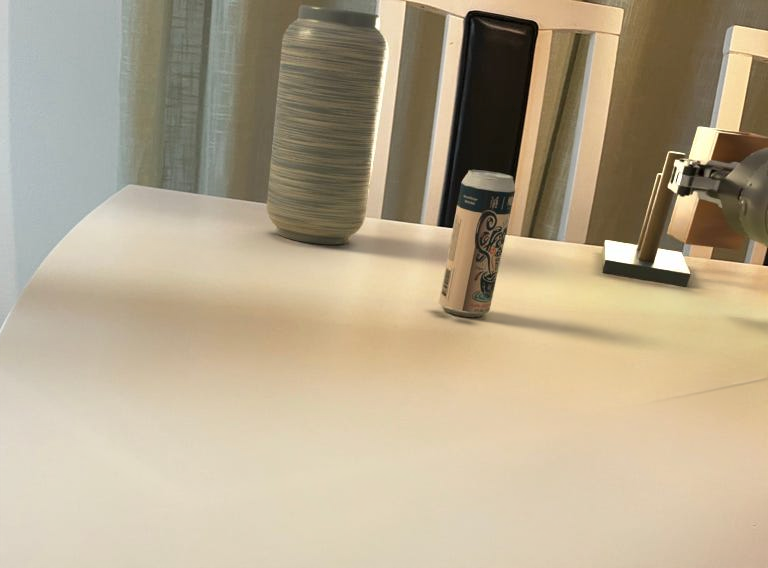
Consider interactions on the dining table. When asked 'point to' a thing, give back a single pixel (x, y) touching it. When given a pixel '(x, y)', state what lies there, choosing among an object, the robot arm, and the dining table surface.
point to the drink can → (477, 242)
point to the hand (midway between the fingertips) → (712, 174)
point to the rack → (650, 240)
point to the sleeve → (701, 217)
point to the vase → (326, 124)
